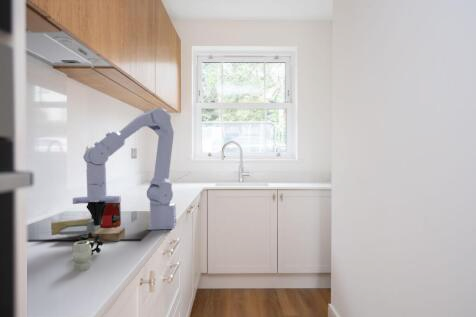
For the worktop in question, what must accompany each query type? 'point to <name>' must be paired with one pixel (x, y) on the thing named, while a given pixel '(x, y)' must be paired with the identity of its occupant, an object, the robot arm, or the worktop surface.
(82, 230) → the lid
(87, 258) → the valve
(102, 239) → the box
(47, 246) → the worktop surface
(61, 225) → the bar
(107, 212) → the canned food
